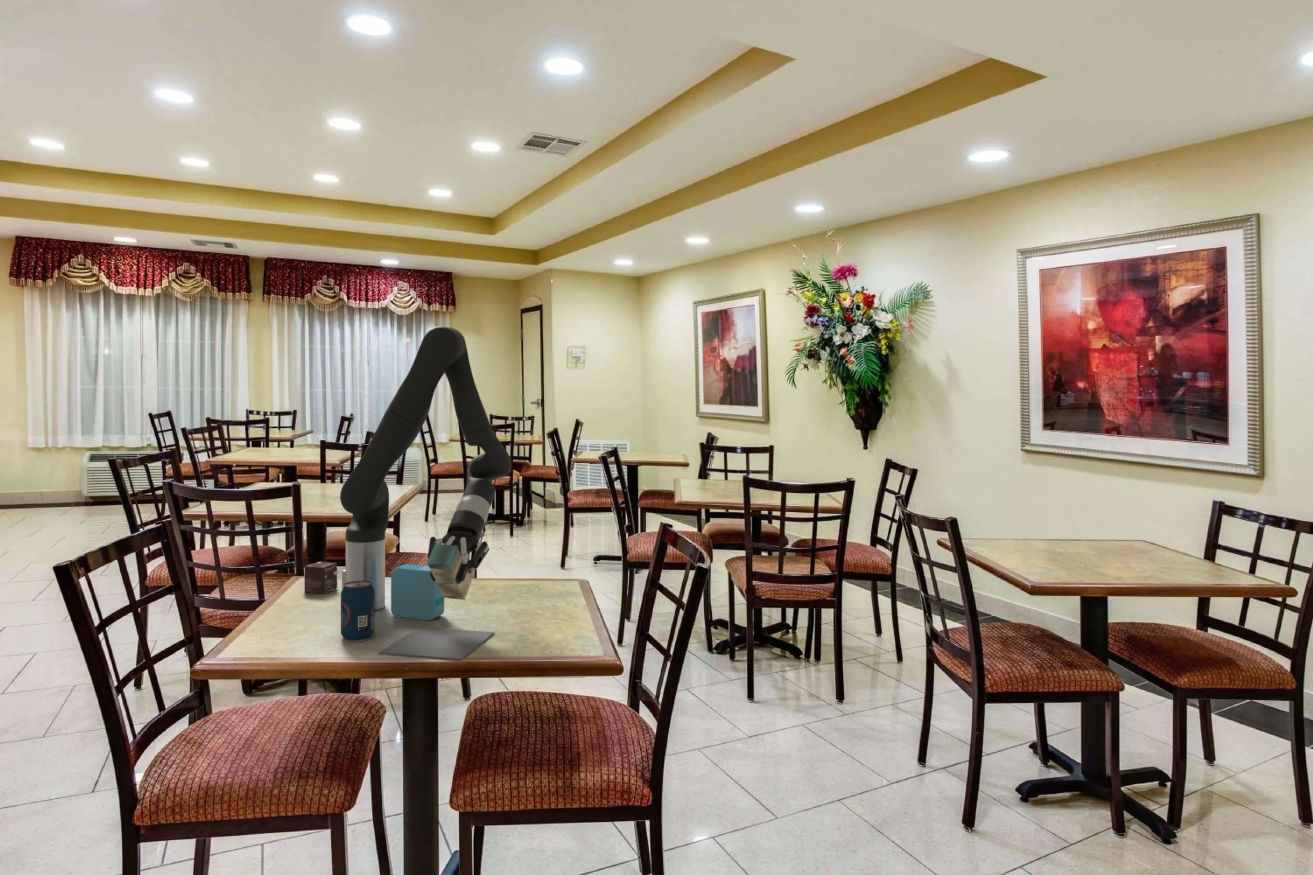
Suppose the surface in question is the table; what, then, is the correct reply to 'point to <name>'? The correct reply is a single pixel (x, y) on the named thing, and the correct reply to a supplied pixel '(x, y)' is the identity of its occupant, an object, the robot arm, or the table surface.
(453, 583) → the birch block
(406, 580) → the data package
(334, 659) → the table surface
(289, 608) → the table surface
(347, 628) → the soda can
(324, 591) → the box
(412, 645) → the rubber mat
